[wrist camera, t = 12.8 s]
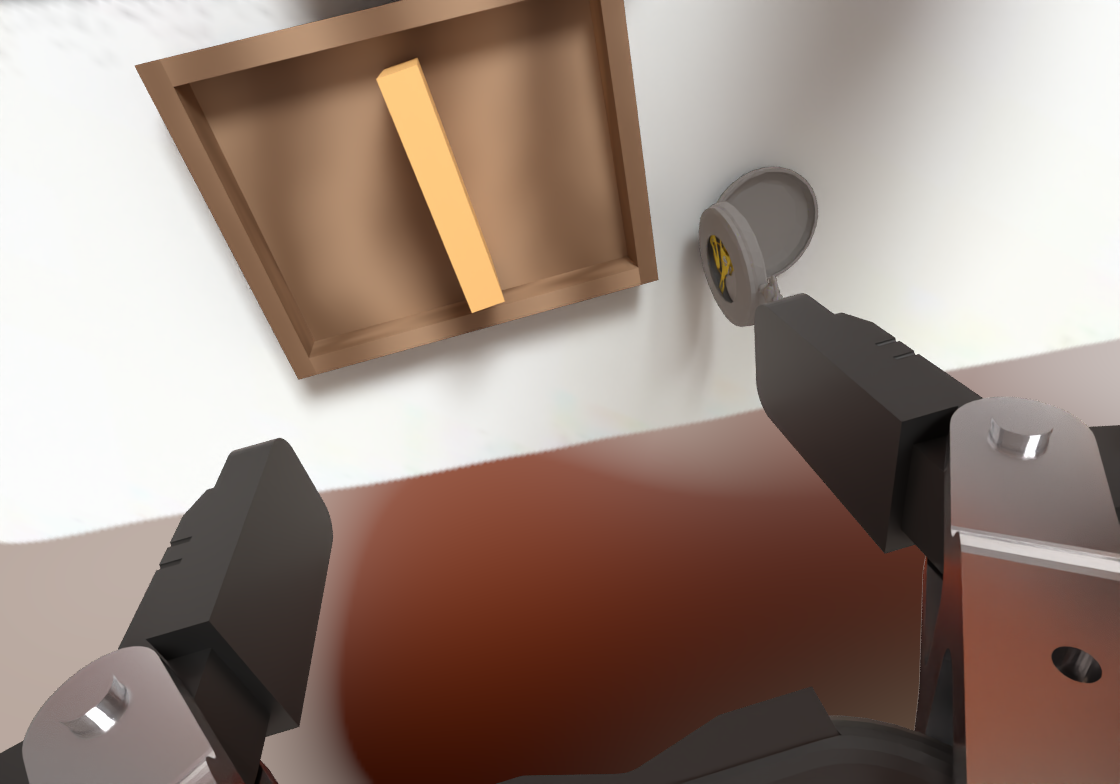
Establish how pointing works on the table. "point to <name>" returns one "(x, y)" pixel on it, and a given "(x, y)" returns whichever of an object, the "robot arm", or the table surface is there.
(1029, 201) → the table surface
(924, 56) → the table surface
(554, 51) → the tray
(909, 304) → the table surface
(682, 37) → the table surface
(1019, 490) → the robot arm
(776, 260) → the pocket watch
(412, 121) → the yellow rectangular block
